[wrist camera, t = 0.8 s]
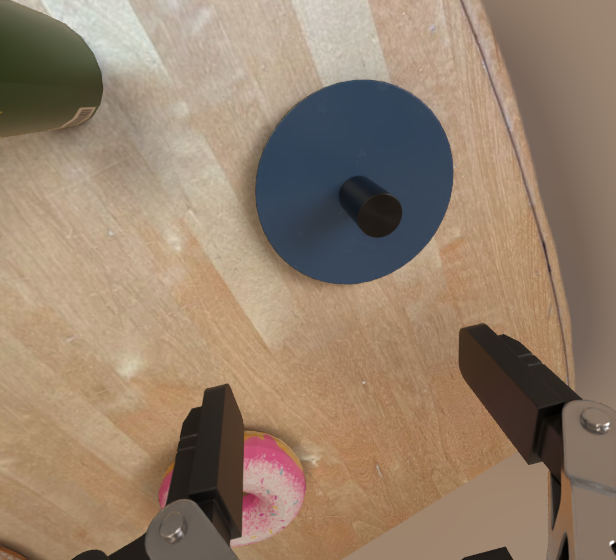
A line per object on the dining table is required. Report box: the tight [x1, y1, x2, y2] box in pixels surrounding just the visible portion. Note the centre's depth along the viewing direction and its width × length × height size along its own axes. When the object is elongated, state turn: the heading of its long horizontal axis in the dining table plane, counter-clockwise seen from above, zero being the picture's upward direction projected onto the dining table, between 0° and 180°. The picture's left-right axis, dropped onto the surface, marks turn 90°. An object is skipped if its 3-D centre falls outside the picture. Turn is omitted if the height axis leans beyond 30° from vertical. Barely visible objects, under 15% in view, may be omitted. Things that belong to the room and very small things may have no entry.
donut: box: [159, 431, 306, 547], centre depth 34 cm, size 14×13×5 cm
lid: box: [255, 80, 453, 284], centre depth 23 cm, size 14×14×6 cm
